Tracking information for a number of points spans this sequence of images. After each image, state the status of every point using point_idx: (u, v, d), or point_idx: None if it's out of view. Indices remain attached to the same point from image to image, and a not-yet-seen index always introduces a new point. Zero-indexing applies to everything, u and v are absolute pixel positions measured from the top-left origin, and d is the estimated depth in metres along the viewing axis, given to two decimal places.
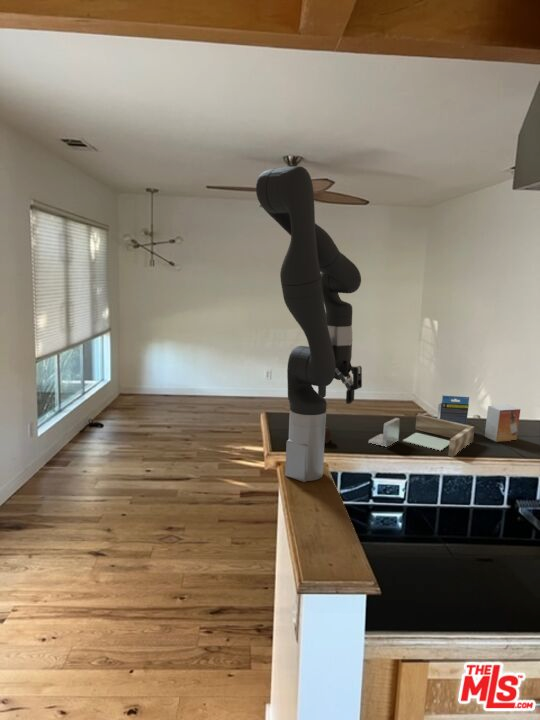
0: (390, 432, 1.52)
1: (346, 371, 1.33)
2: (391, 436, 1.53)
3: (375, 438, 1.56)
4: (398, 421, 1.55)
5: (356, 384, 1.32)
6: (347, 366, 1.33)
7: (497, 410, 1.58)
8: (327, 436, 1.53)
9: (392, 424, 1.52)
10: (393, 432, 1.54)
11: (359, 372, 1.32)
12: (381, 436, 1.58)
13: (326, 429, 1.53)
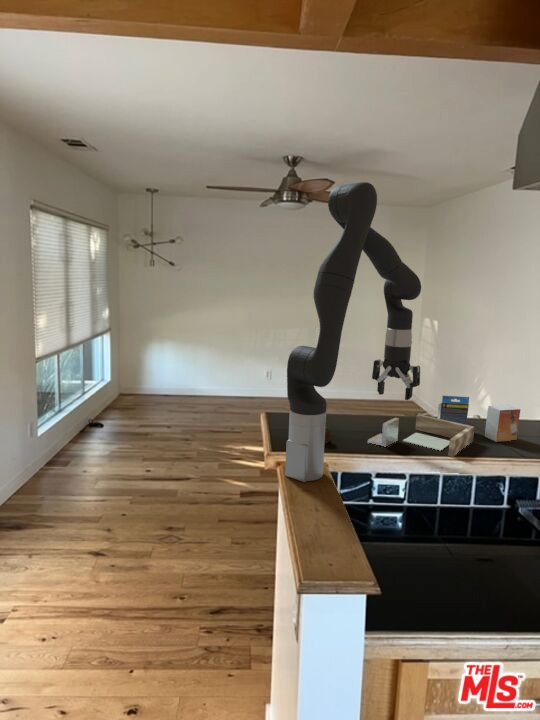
0: (389, 431, 1.52)
1: (406, 370, 1.47)
2: (390, 436, 1.53)
3: (374, 438, 1.56)
4: (397, 421, 1.55)
5: (415, 382, 1.45)
6: (407, 366, 1.47)
7: (497, 410, 1.58)
8: (327, 436, 1.53)
9: (391, 424, 1.52)
10: (392, 432, 1.54)
11: (418, 371, 1.46)
12: (380, 436, 1.58)
13: (326, 429, 1.53)
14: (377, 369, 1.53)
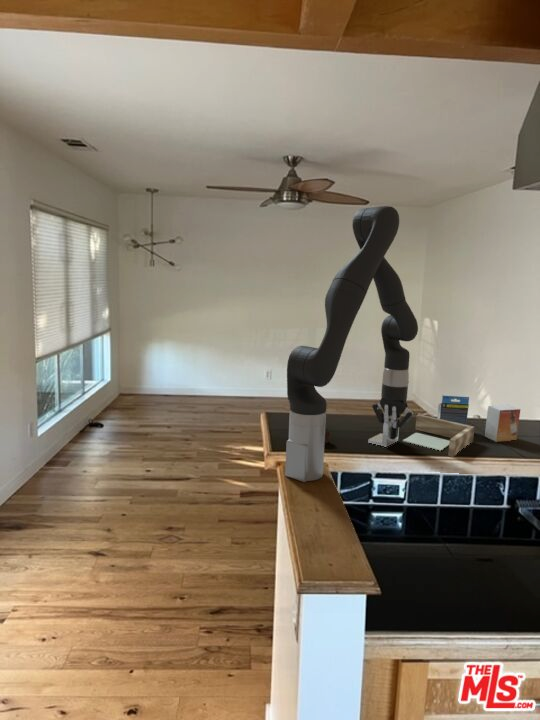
0: (389, 431, 1.52)
1: (400, 413, 1.50)
2: None
3: (375, 437, 1.56)
4: None
5: (402, 424, 1.50)
6: (404, 407, 1.49)
7: (497, 410, 1.58)
8: (326, 437, 1.53)
9: (392, 423, 1.52)
10: None
11: (410, 417, 1.49)
12: (381, 435, 1.58)
13: (325, 429, 1.53)
14: (379, 412, 1.55)
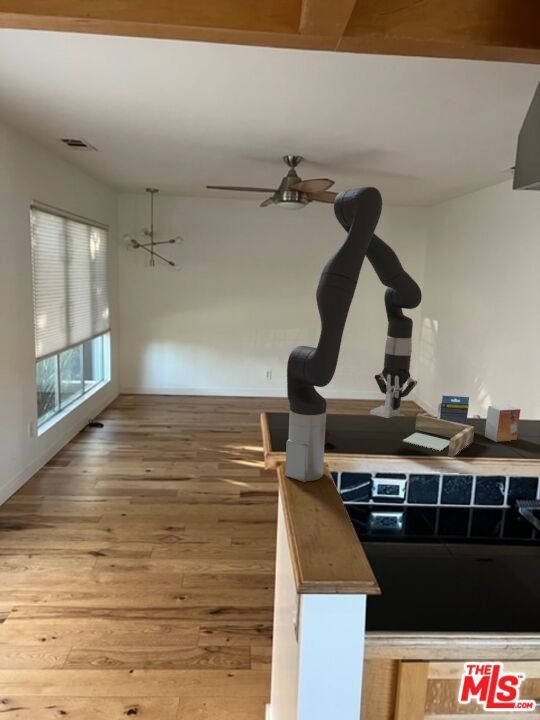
0: (392, 401, 1.50)
1: (403, 383, 1.48)
2: (393, 406, 1.51)
3: (377, 408, 1.54)
4: None
5: (405, 394, 1.48)
6: (407, 376, 1.47)
7: (497, 410, 1.58)
8: (326, 437, 1.53)
9: (394, 393, 1.50)
10: None
11: (413, 386, 1.47)
12: (383, 407, 1.56)
13: (325, 429, 1.52)
14: (381, 382, 1.53)
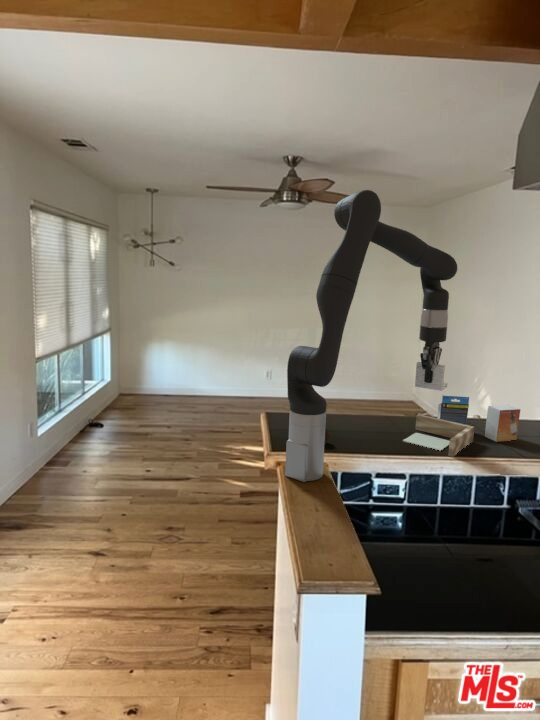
0: (421, 372, 1.52)
1: None
2: None
3: None
4: (440, 367, 1.48)
5: (422, 365, 1.48)
6: (424, 348, 1.47)
7: (497, 410, 1.58)
8: (325, 437, 1.53)
9: None
10: None
11: (424, 359, 1.45)
12: None
13: None
14: None
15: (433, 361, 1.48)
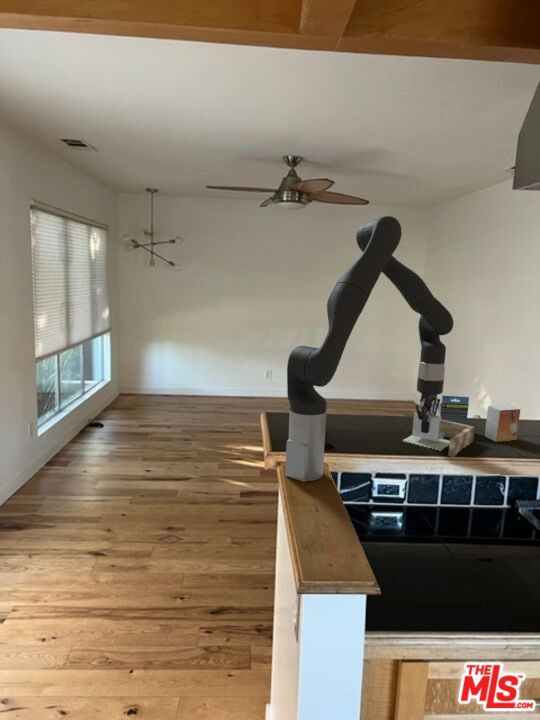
0: (418, 421, 1.55)
1: None
2: None
3: None
4: (436, 419, 1.52)
5: None
6: (420, 399, 1.50)
7: (497, 410, 1.58)
8: (325, 437, 1.52)
9: None
10: None
11: (420, 410, 1.49)
12: None
13: None
14: None
15: (429, 412, 1.51)
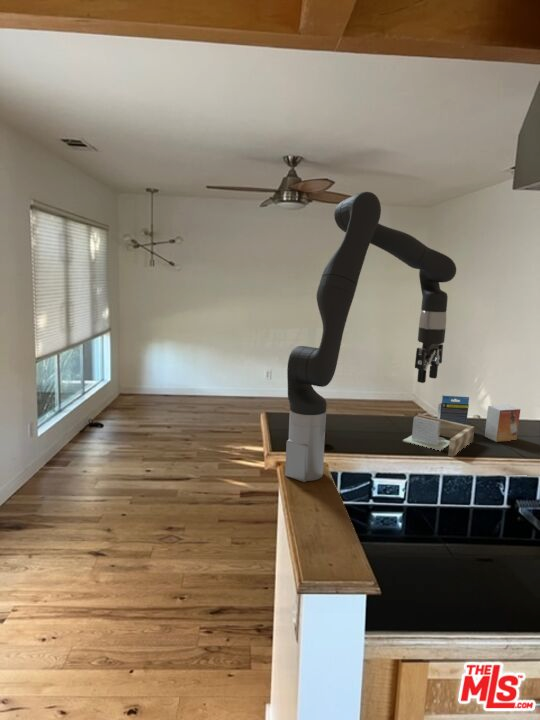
0: (418, 426, 1.55)
1: None
2: (421, 433, 1.55)
3: None
4: (435, 424, 1.52)
5: (415, 363, 1.46)
6: (422, 347, 1.48)
7: (497, 410, 1.58)
8: None
9: (422, 421, 1.54)
10: (426, 431, 1.54)
11: (419, 353, 1.45)
12: None
13: None
14: None
15: (428, 360, 1.47)
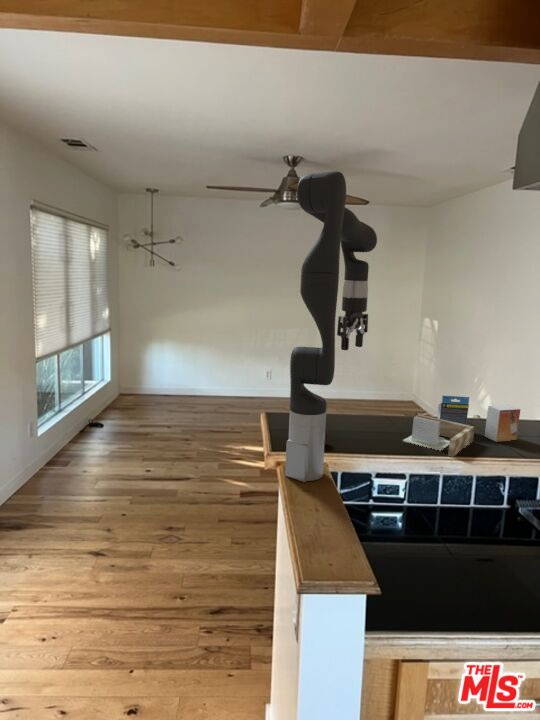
0: (418, 426, 1.55)
1: None
2: (421, 433, 1.55)
3: None
4: (435, 424, 1.52)
5: None
6: (344, 316, 1.52)
7: (497, 410, 1.58)
8: None
9: (422, 421, 1.54)
10: (426, 431, 1.54)
11: (341, 321, 1.50)
12: None
13: None
14: None
15: (350, 328, 1.51)
